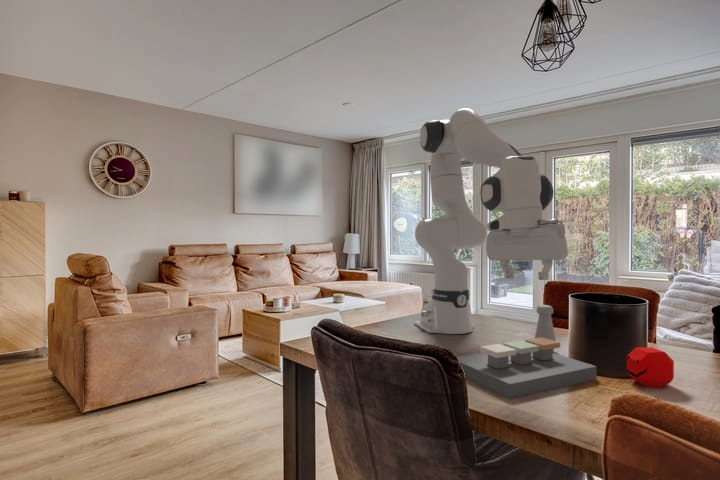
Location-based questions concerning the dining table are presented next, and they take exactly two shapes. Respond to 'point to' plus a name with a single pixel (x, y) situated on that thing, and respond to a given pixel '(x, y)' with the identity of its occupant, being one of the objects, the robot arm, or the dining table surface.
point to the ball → (650, 367)
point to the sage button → (522, 351)
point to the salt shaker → (545, 323)
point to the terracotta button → (544, 348)
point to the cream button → (498, 355)
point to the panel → (527, 374)
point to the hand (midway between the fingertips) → (525, 279)
